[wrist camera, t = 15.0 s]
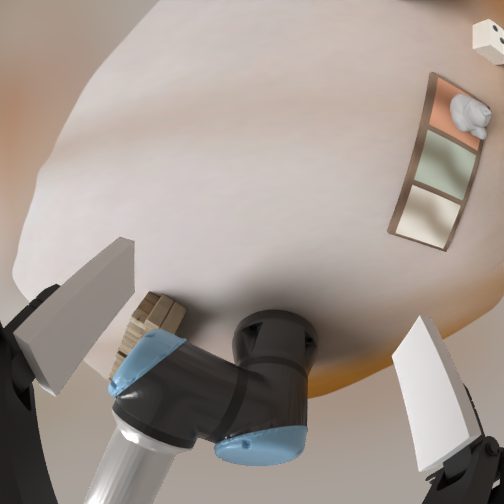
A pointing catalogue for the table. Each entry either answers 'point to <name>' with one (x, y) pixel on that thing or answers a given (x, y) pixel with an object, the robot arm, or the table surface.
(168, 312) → the block tower
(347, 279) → the table surface
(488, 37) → the die
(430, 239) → the game board
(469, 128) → the white lumpy piece
